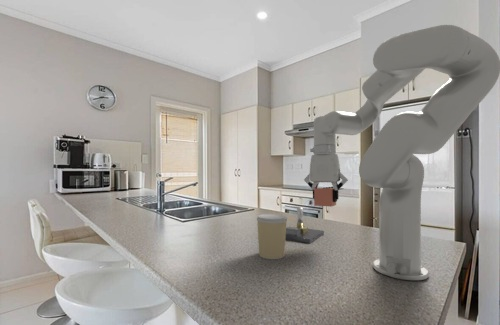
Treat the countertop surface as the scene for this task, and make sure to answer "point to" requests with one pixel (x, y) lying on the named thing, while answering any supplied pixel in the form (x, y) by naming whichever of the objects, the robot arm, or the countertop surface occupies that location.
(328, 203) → the pink hollow cube
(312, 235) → the shaft base
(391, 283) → the countertop surface
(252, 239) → the countertop surface
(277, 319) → the countertop surface
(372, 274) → the countertop surface
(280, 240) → the coffee cup
